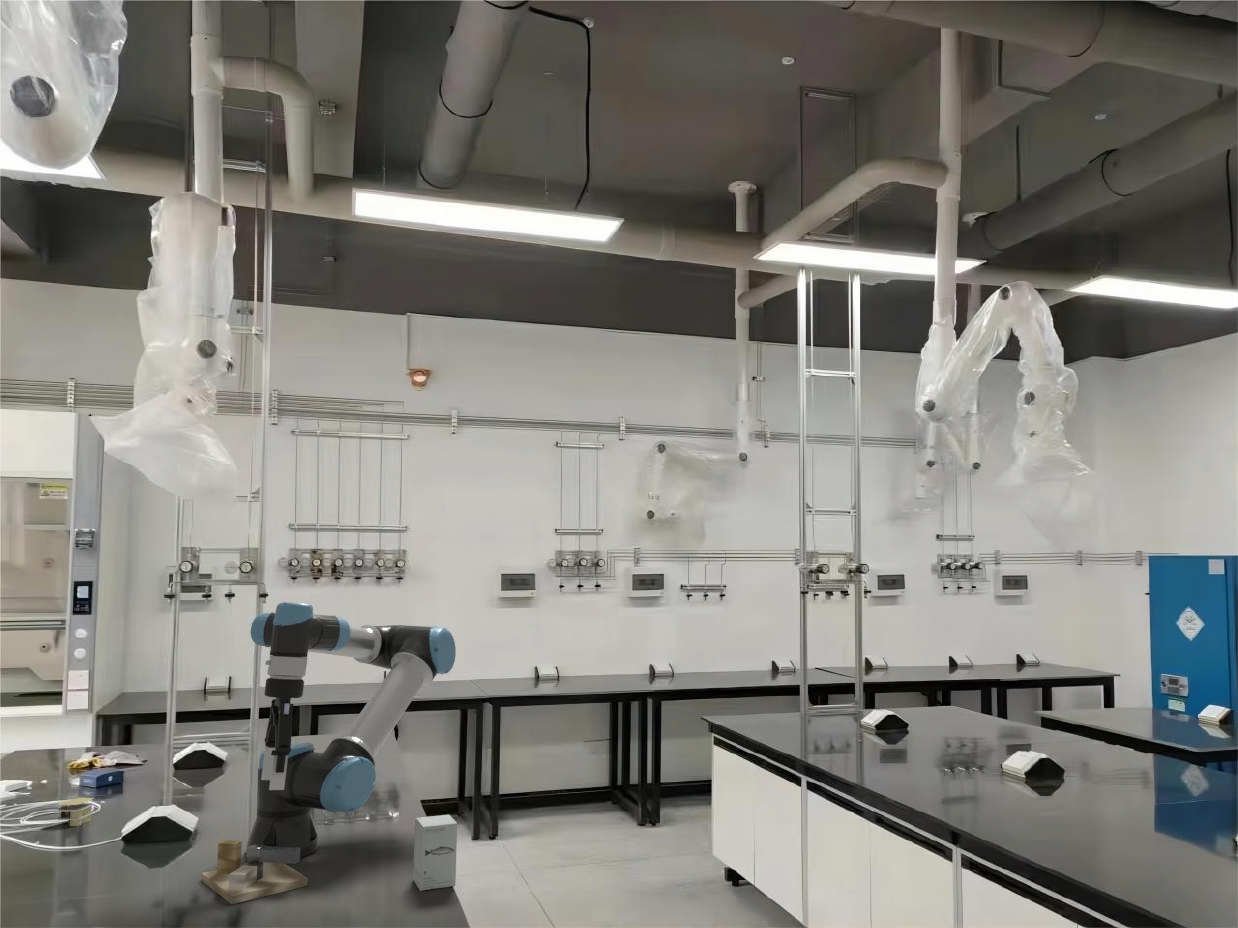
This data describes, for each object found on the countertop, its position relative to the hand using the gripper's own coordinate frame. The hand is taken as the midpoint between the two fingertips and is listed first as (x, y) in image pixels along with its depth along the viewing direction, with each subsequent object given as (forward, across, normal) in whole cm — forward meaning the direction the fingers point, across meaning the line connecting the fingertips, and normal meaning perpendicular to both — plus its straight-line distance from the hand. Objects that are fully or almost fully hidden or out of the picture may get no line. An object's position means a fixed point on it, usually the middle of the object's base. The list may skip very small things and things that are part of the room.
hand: (272, 784), depth 187 cm
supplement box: (+18, +11, +32) cm, 39 cm away
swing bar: (+15, -1, +2) cm, 15 cm away
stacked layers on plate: (+19, -68, -36) cm, 79 cm away
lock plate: (+20, -5, 0) cm, 20 cm away
